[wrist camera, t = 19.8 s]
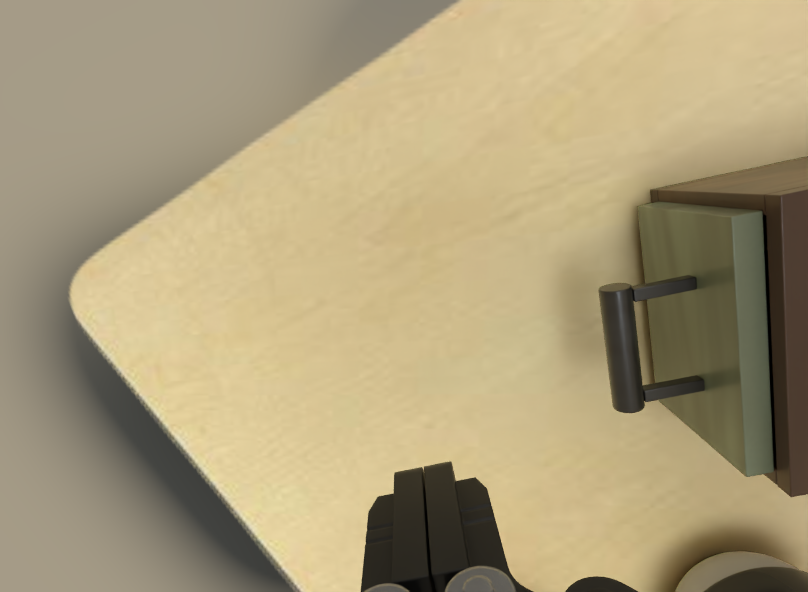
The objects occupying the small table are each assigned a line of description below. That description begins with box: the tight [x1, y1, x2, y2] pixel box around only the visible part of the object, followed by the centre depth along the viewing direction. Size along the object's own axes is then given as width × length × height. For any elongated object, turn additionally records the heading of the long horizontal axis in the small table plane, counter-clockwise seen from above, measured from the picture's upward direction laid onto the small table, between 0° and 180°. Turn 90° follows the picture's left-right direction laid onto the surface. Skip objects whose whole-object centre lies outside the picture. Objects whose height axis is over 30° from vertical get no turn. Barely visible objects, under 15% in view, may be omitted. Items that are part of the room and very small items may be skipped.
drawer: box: [599, 202, 775, 477], centre depth 24 cm, size 18×11×8 cm, turn 102°
